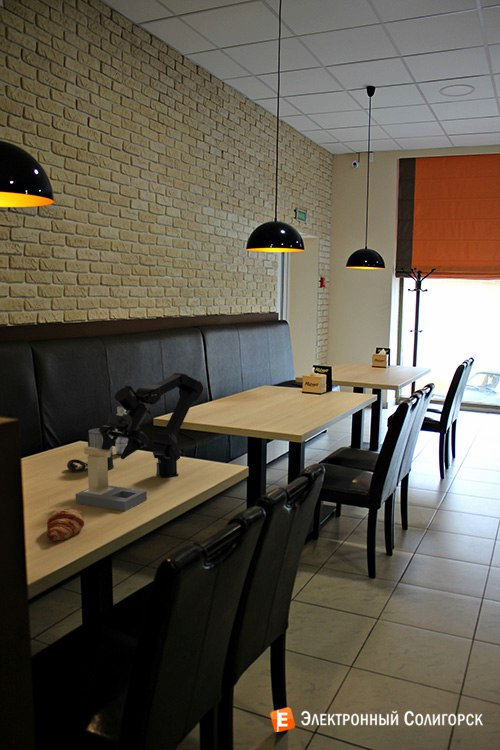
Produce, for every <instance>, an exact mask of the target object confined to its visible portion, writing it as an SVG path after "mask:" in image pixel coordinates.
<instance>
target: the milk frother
mask: <svg viewBox="0 0 500 750" xmlns="http://www.w3.org/2000/svg"><path fill="white" fill-rule="evenodd" d="M100 428H101V427H99V428H98V427H96V428H92V429H89V430H88V434H87V447H93V448H99V449H102V444H103V437H102V435H101V434H100V432H99V429H100ZM113 446H114V445H113ZM113 446H112V447H111V448H110V449H109V450H110V451H111V457H108V458H107V463H108V471H109V470H113V468H114V458H113V456H114V452H113V449H114V447H113ZM78 464H79V465H81V467H80V468H78V467H79V466H78ZM86 466H88V463H86V462H84V461H83V460H80V459H76V458H75V459H74V458H73V459H70V460H69V461H68V462H67V463H66V468H67V470H69V471H72V472H82V471H85V469H86Z"/></svg>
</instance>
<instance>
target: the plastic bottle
mask: <svg viewBox="0 0 500 750" xmlns="http://www.w3.org/2000/svg"><path fill="white" fill-rule="evenodd" d="M116 409H117V410H116V412H117V413H116V415H119V416H123V414H127V413H128V412H127V410H125V409H124V408H123V407H122V406H121V405H120V406H117V408H116ZM115 431H117V429H116V428H115ZM127 443H128V439H126V438H120V437H118V438H117V440H115V443H114V445H115V446H114V451H115V453H116V454H117V455H120V456H121V455H122V453H123V451H124V449H125V447H126V445H127Z"/></svg>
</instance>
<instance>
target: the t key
mask: <svg viewBox="0 0 500 750" xmlns="http://www.w3.org/2000/svg"><path fill="white" fill-rule="evenodd" d="M83 453H84V455H87V464H88V465H87V477H88V481H87V482H88V483H87V484H88V488H89V490H90V491H94V492H98V493H99V492H101V491H104V490H107V489H108V485H109V472H108V471H109V470H108V463H107V458H108V457H111V451H110V450H104V449H99V448H93V447H88V446H86V447H84V448H83Z"/></svg>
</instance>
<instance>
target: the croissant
mask: <svg viewBox="0 0 500 750" xmlns="http://www.w3.org/2000/svg"><path fill="white" fill-rule="evenodd" d="M82 513H83V512H82V511H81V510H80V509H79V510H78V509H76V508H64V509H59V510H57V511H55V512H53V513H51V515H49V517H48V520H47V523H46V529H47V530H46V531H47V533H46V537H47V539H48V540H50V541H52V542H55V541H61V540H62V541H63V540H67V539H69V538H70V537H73V536H75V535H76V534H77V533H78V532H79V531H81V530H82V529H83V528H84V527H85V520H84V517H83V514H82Z"/></svg>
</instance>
